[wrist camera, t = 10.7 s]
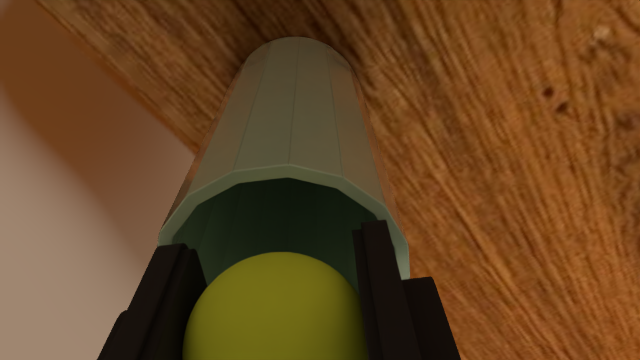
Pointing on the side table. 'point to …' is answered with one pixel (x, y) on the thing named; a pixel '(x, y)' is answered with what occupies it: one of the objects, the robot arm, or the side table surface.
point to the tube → (286, 166)
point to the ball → (277, 313)
